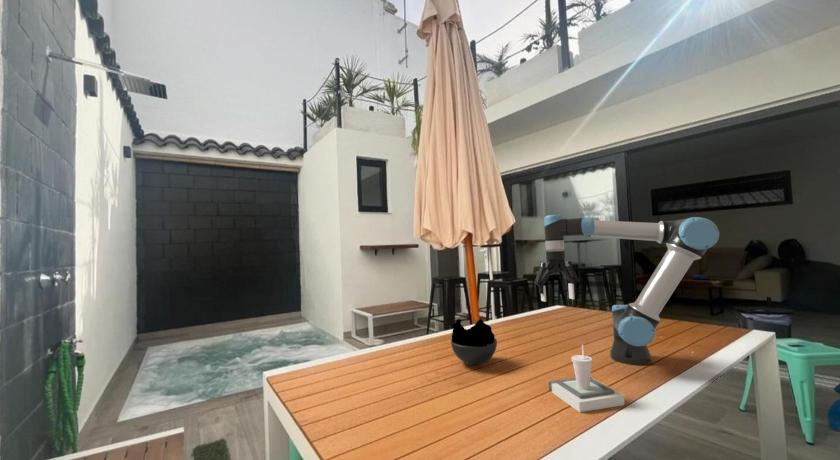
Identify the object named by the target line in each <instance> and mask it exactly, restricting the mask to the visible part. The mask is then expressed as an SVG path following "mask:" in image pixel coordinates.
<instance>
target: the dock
mask: <svg viewBox="0 0 840 460" xmlns="http://www.w3.org/2000/svg"><path fill="white" fill-rule="evenodd" d="M548 391H550V392H551V393H552V394H554V395H555V397H556V396H557V397H558V398H559V399H560V400H562V401H563V402H565V403H566V404H568V405H569V406H571V408H573V409H574V410H576V411H577V412H579V413H584V412H590V411H596V410H601V409H608V408H614V407H620V406H625V395H624V394H623V393H620V392H618V391H617V390H615V389H613V388H611V387H609V386H608V385H606V384H603V383H602V382H601V381H598V380H597V379H594V378H593V377H590V389H588V390H582V389H579V388H578V387H577V382H576V377H572V378H565V379H563V378H562V379H556V380H551V381H550V380H549V381H548Z"/></svg>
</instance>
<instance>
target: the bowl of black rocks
mask: <svg viewBox="0 0 840 460" xmlns="http://www.w3.org/2000/svg"><path fill="white" fill-rule="evenodd" d="M461 323H462V320H461V319H460V318H457V320H456V321H455V322H454V323H453V324H452V328H453V329H452V332H451V333H452V334H451V340H450V345H451V348H452V351H453V353H454V354H455V355H456V357H457V358H458V359H459V360H460V361H462V362H463V363H466V364H468V365H471V366H472V365H473V366H475V365H476V366H478V365H482V364H485V363H486V362H489V360H491V358H492V357H493V356H494V355H495V352H496V351H497V346H498V340H497V339H496V338H495V337H496V336H495V334H494V333H493V330H492V327H491V325H489V324H487V323H485V322H484V320H483V319H482V318H480V319H478V320H477V321H476V322H475V324H474V325H473V326H472V327H471V326H470V328H468V329H466V328H465V327H464V326H463V325H462V324H461Z"/></svg>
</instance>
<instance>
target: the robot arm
mask: <svg viewBox="0 0 840 460" xmlns="http://www.w3.org/2000/svg"><path fill="white" fill-rule="evenodd" d="M543 220H544V221H543V222H544V223H543V224H544V226H543V227H544V228H543V229H544V238H545V239H544V241H545V250H546V251H545V259H546V262H543V261H542V262H539V268H538V272H537V274H536V277H535V279H534V282H533V284H534V285H536V286H538V292H539V293H538V294H540V301H541V302H545V303H546V302H547V291H546V285H545V283H546V282H547V281H548V279H549V278H550V276H551V275H552V274H553V273H561V275H562V276H564V277H565V279H566V280H567V281H568V284H567V285H568V288H567V289H568V298H569V300H570V299H571V300H575V291H576V284H577V283H579V282H580V279H579V277H578V275H577V273H576V271H575V269H574V267H573V263H572V261H571V260H566V261H565V259H566V255H565V240H564V239H565V238H564V237H587V238H589V237H592V238H605V239H620V240H621V239H622V240H634V241H635V240H637V241H638V240H639V241H651V242H657V243H658V244H660V245H661V244H663V245H666V247H667V250H666V252H665V253H664V255H663V257H662V258H661V261H660V262H659V263H658V265H657V266H656V267H655V269H654V271H653V273H652V274H651V276H650V277H649V279H648V281H647V283H646V284H645V285H644V287H643V289H642V290H641V292H640V293H639V295H638V297H637V298H636V300H635V301H634V302H630V303H628V304H613V305H612V306H611V314H612V330H613V340H612V346H611V349H610V351H609V355H610V356H609V357H610V358H611V360H614V361H616V362H619V363H623V364H628V365H634V366H635V365H636V366H637V365H638V366H642V365H643V366H644V365H649V364H651V363H653V362H652V361H653V360H652V354H651V353H650V350H649V347H648V345H649V344H650V343H652V342H653V340H654V339H655V336H656V329H657V327H658V326H659V324H660V322H661V318H660V313H661V312H662V310H663V308H664V307H665V306H666V304H667V302H668V301H669V299H670V298H671V296H672V295H673V293H674V291H675V290H676V289H677V287H678V285H679V284H680V282H681V281H682V279H683V278H684V276H685V274H686V273H687V272H688V270H689V269H690V267H691V266H692V264H693V262H694V261H697V260H700V259H702V258H703V256H704V254H705V253H706V252H707V250H708V249H711V248H712V247H713V246H715V245H716V244H717V243H718V241H719V238H720V231H719V228H718V226H717V225H716V223H715V222H713V221H712V220H710V219H708V218H705V217H699V216H691V217H689V218H682V219H677V220H660V221H659V222H645V221H644V222H642V221H641V222H638V221H621V220H620V221H618V220H599V219H598V220H595V219H594V218H593V217H585V216H584V217H577V218H573V217H572V218H564V217H563V215H562V214H548V215H546V216H545V217H544V218H543ZM565 267H566V268H565ZM546 268H547V269H546Z"/></svg>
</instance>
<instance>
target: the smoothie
mask: <svg viewBox="0 0 840 460" xmlns="http://www.w3.org/2000/svg"><path fill="white" fill-rule="evenodd" d="M581 351H582V352H581V354H575V355H572V356H571V362H572V364H573V365H572V366H573V371H574V375H575V378H576V382H577V387H578V388H579V389H582V390H588V389H590V377H591V375H592V364H593V358H592V357H591V356H588V355H585V347H584V344H581ZM591 378H592V377H591Z"/></svg>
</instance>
